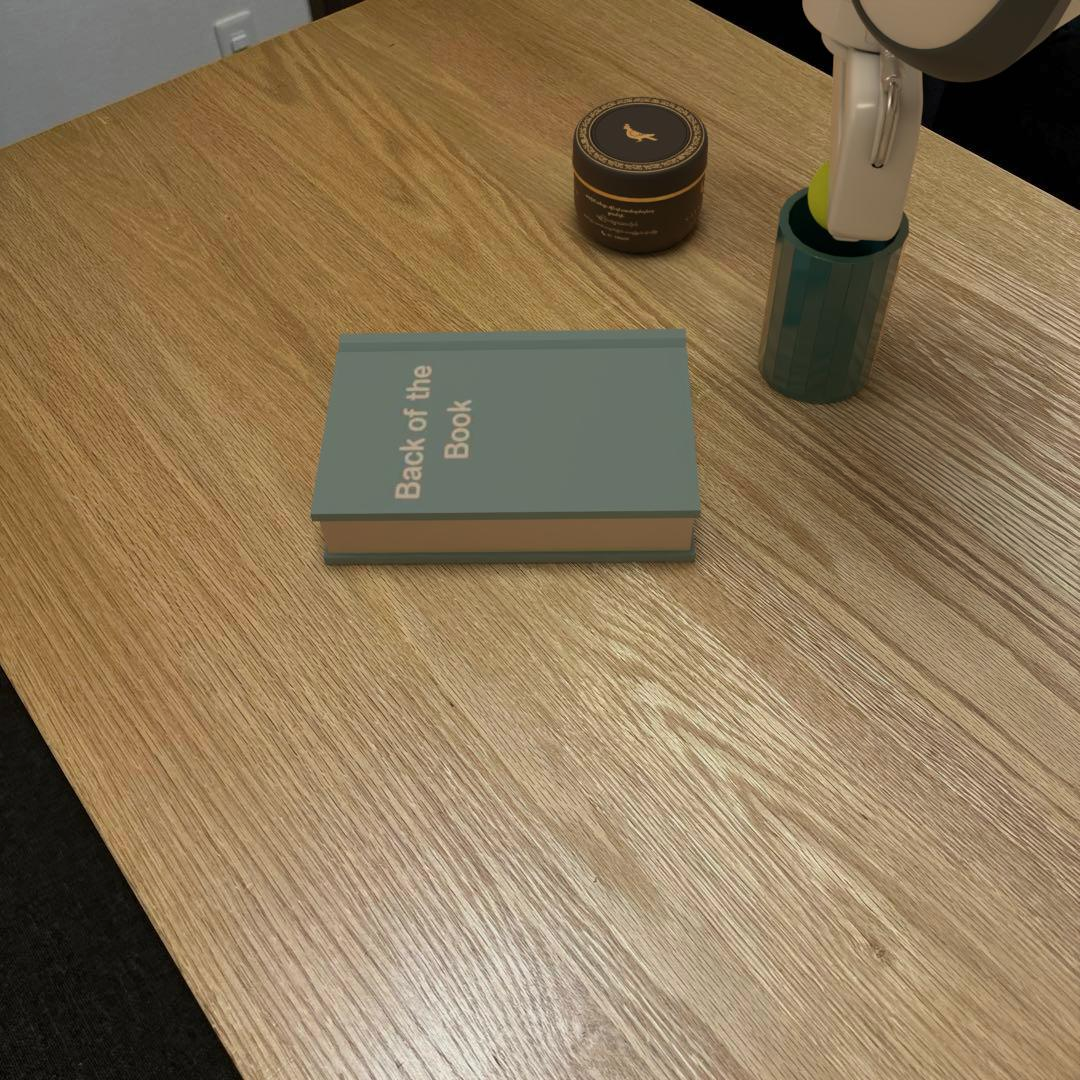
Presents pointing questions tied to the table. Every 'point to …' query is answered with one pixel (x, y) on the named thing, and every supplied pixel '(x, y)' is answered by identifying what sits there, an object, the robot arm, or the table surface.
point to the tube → (825, 306)
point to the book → (509, 448)
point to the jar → (639, 173)
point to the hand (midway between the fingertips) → (847, 202)
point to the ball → (819, 195)
